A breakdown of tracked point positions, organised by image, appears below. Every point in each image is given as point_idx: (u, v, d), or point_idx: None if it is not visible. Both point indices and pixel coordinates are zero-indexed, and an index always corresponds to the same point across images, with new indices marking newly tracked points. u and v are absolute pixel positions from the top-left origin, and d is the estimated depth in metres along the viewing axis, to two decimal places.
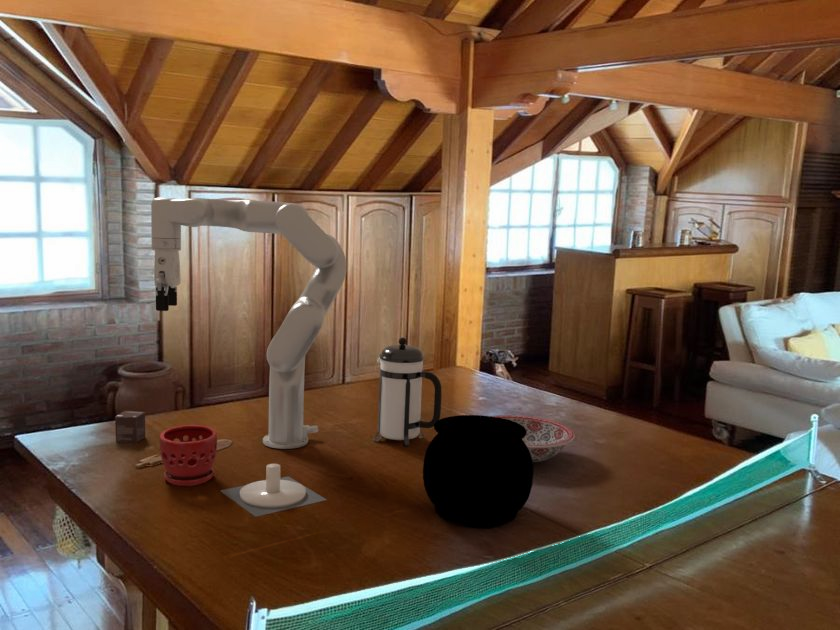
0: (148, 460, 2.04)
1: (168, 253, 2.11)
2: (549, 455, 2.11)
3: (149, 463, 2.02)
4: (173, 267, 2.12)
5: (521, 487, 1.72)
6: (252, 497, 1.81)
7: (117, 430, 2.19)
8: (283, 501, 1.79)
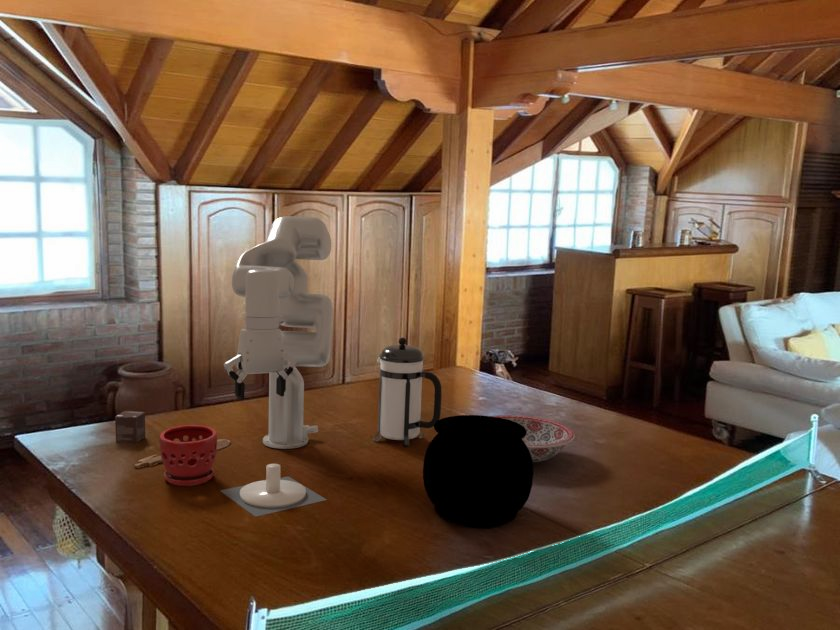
0: (147, 460, 2.04)
1: None
2: (549, 455, 2.11)
3: (148, 463, 2.02)
4: None
5: (521, 487, 1.72)
6: (252, 497, 1.81)
7: (117, 430, 2.19)
8: (283, 501, 1.79)
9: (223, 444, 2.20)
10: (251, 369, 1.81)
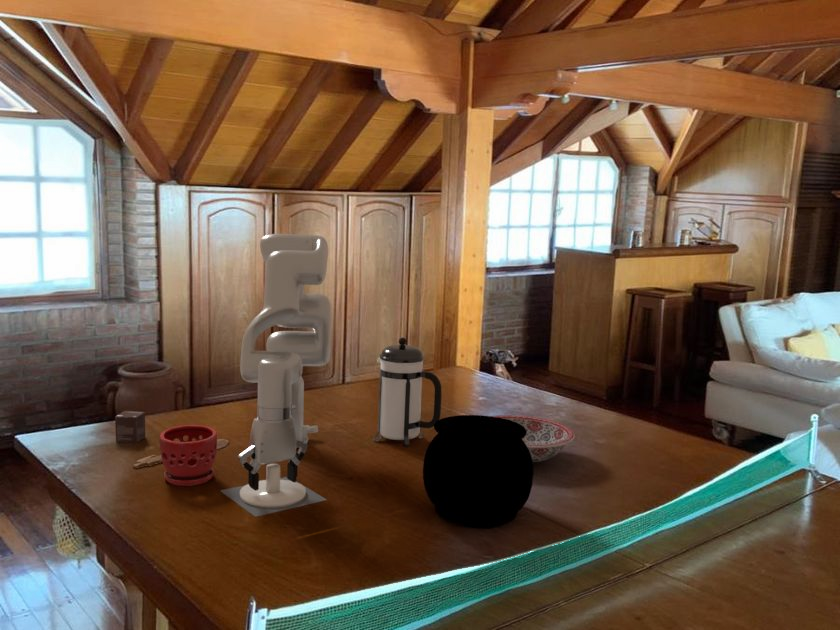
0: (145, 460, 2.03)
1: None
2: (549, 455, 2.11)
3: (146, 463, 2.02)
4: None
5: (521, 487, 1.72)
6: (252, 497, 1.81)
7: (117, 430, 2.19)
8: (283, 501, 1.79)
9: (221, 444, 2.20)
10: (265, 459, 1.80)
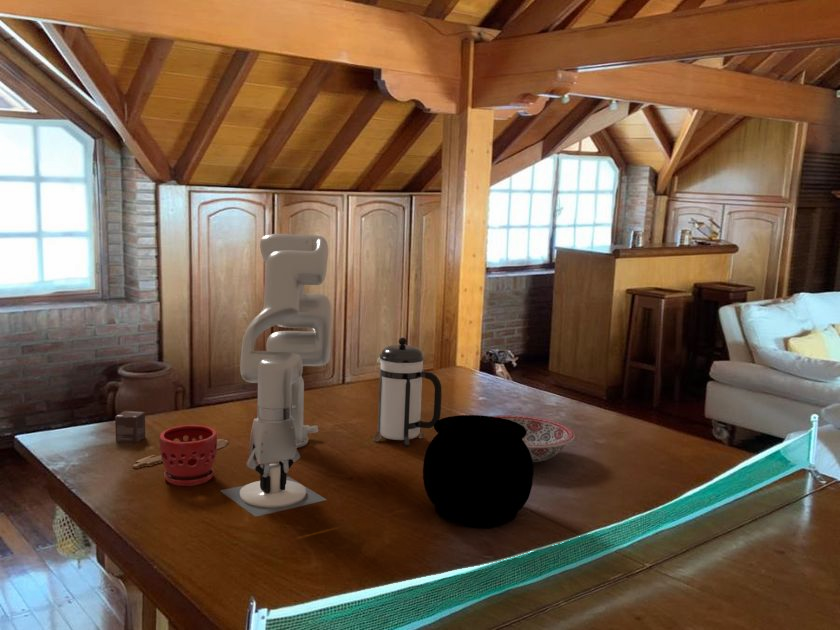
0: (145, 460, 2.03)
1: None
2: (549, 455, 2.11)
3: (146, 463, 2.02)
4: None
5: (521, 487, 1.72)
6: (252, 497, 1.81)
7: (117, 430, 2.19)
8: (283, 501, 1.79)
9: (221, 444, 2.20)
10: (265, 460, 1.80)
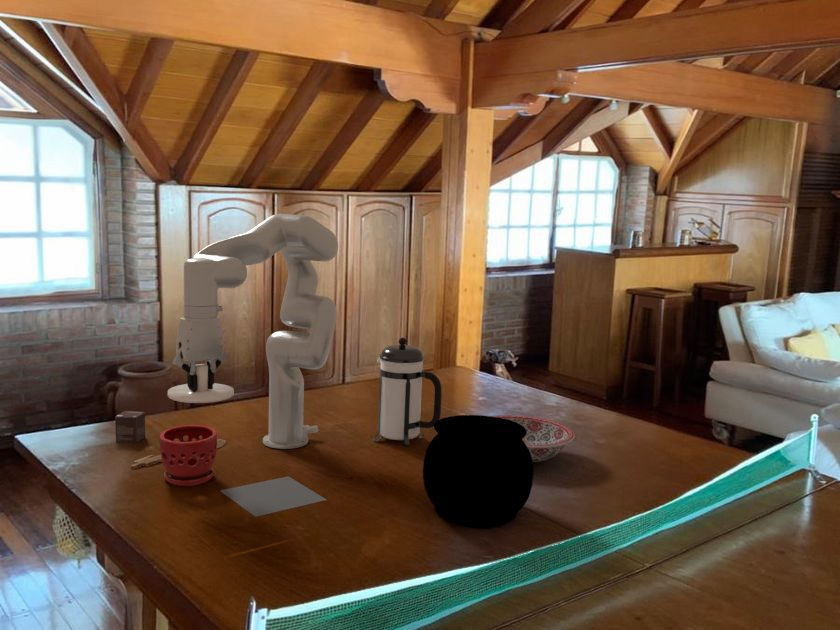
0: (143, 460, 2.03)
1: None
2: (549, 455, 2.11)
3: (144, 463, 2.02)
4: None
5: (521, 487, 1.72)
6: (180, 394, 1.84)
7: (117, 430, 2.19)
8: (210, 397, 1.83)
9: (219, 444, 2.20)
10: (192, 357, 1.84)
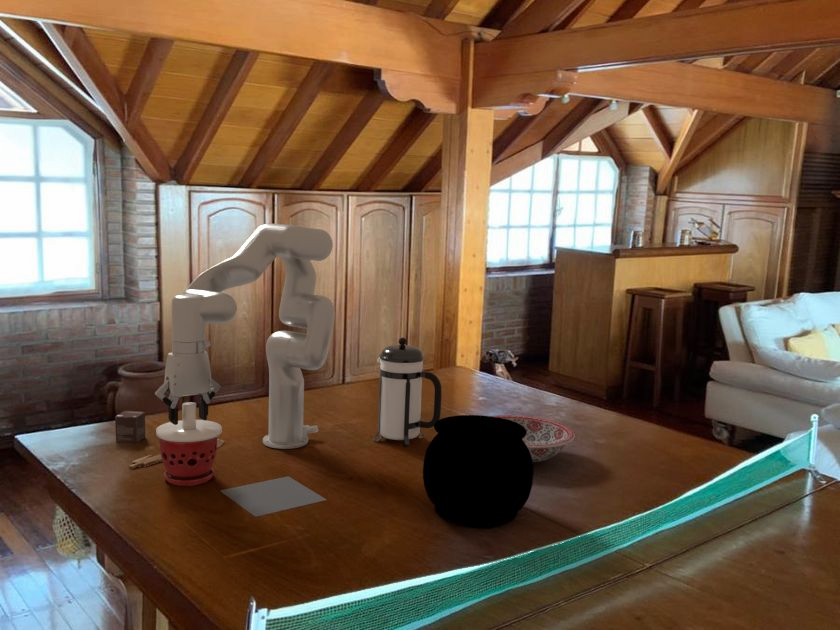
0: (141, 461, 2.03)
1: None
2: (549, 455, 2.11)
3: (143, 464, 2.01)
4: None
5: (521, 487, 1.72)
6: (167, 433, 1.87)
7: (117, 430, 2.19)
8: (197, 436, 1.86)
9: (217, 444, 2.20)
10: (179, 392, 1.87)
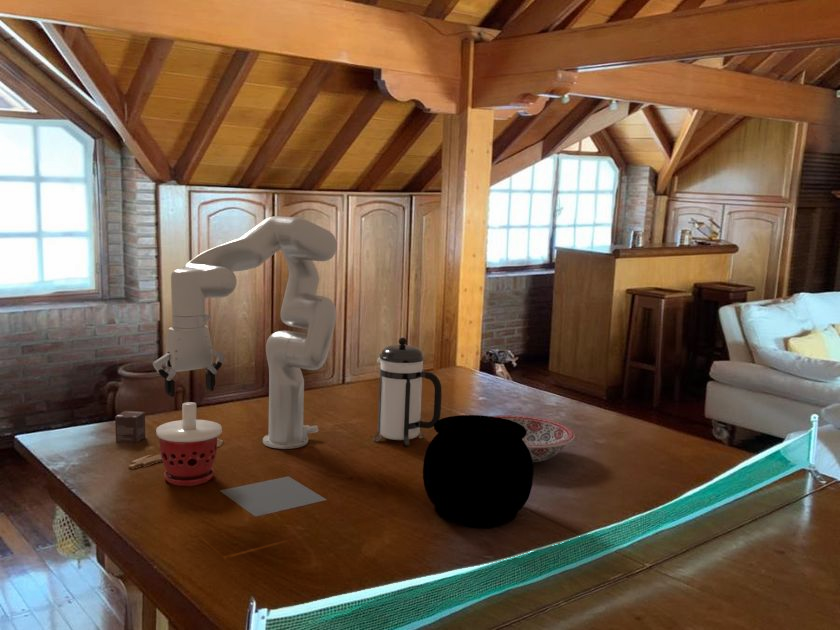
0: (141, 461, 2.03)
1: None
2: (549, 455, 2.11)
3: (142, 464, 2.01)
4: None
5: (521, 487, 1.72)
6: (167, 433, 1.87)
7: (117, 430, 2.19)
8: (197, 436, 1.86)
9: None
10: (180, 367, 1.86)
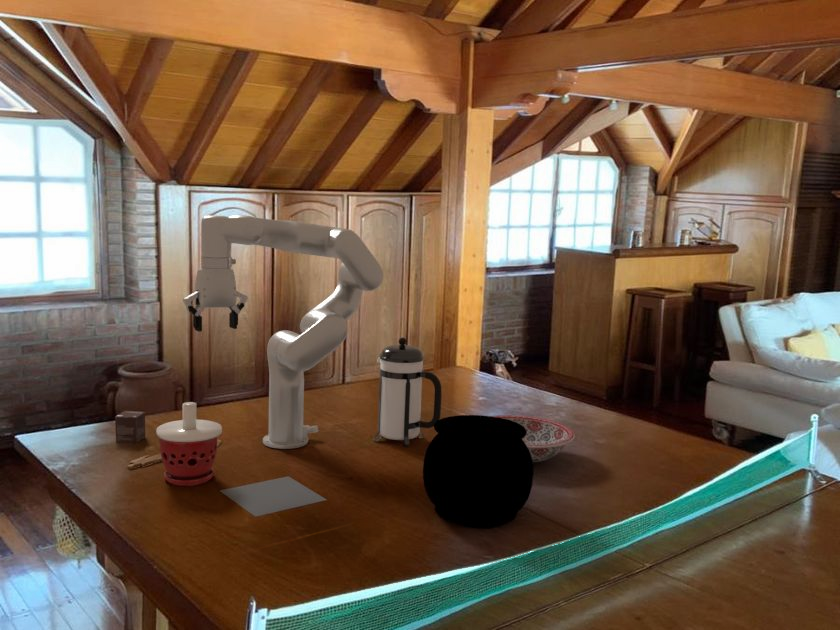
0: (139, 461, 2.03)
1: None
2: (549, 455, 2.11)
3: (141, 464, 2.01)
4: None
5: (521, 487, 1.72)
6: (168, 433, 1.87)
7: (117, 430, 2.19)
8: (197, 436, 1.86)
9: None
10: (208, 304, 2.05)
